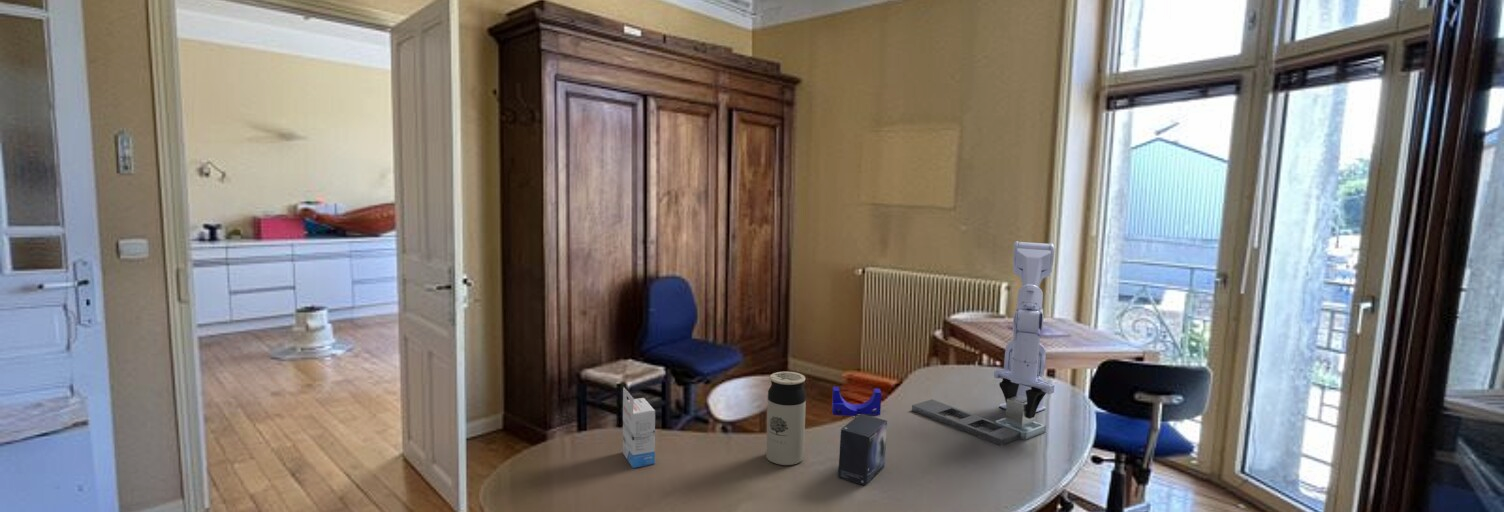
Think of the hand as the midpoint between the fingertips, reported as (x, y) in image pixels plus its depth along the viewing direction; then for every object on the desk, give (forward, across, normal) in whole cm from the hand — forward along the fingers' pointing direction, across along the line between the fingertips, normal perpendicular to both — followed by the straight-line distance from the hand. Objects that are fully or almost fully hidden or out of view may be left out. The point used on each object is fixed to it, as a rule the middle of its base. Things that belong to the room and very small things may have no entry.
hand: (1020, 414), depth 160 cm
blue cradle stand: (+4, -30, -25) cm, 39 cm away
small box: (+4, -5, -48) cm, 49 cm away
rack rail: (+4, -10, -8) cm, 13 cm away
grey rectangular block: (+2, 0, 0) cm, 2 cm away
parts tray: (+4, 0, 0) cm, 4 cm away
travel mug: (+4, -19, -58) cm, 61 cm away
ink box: (+4, -36, -84) cm, 91 cm away
